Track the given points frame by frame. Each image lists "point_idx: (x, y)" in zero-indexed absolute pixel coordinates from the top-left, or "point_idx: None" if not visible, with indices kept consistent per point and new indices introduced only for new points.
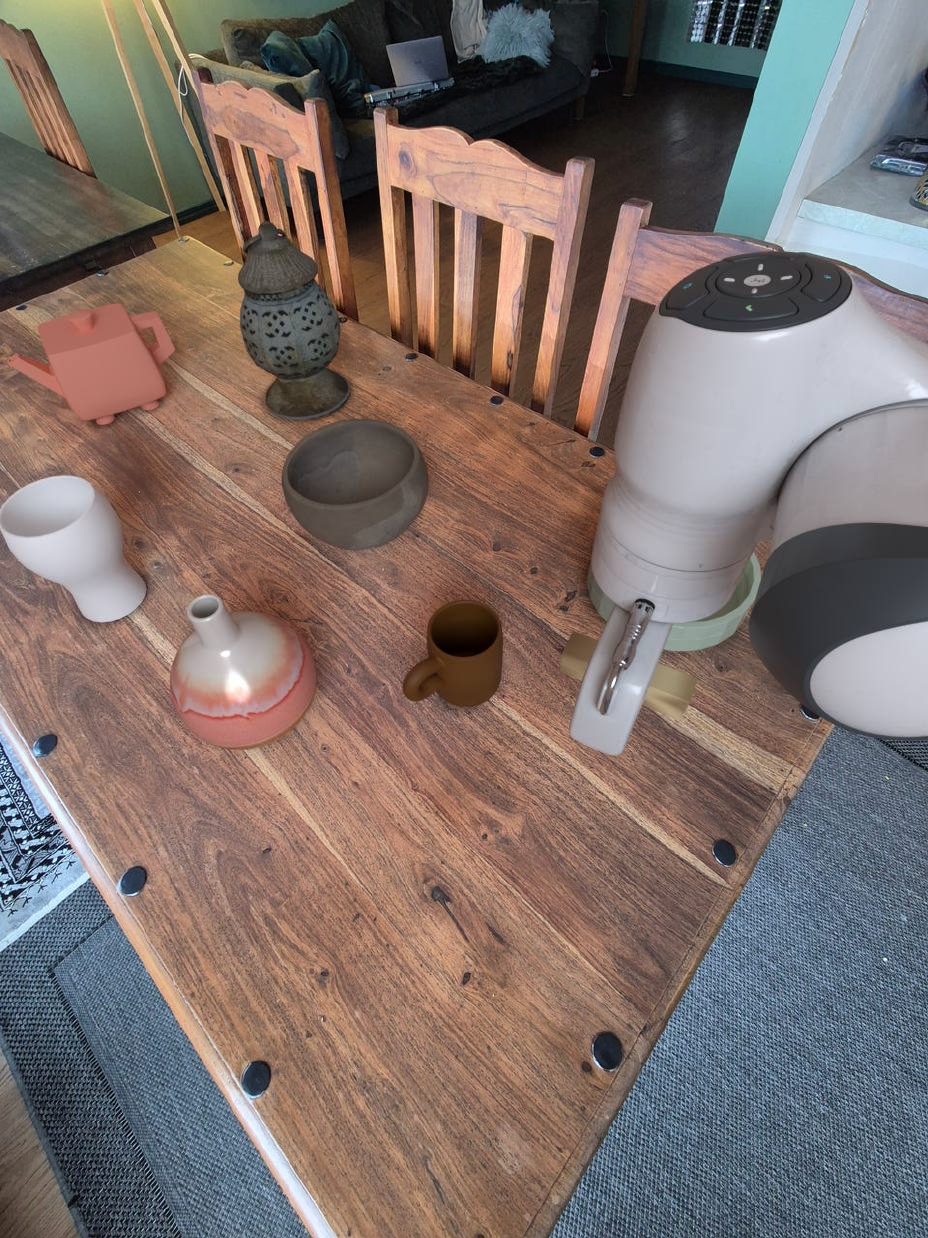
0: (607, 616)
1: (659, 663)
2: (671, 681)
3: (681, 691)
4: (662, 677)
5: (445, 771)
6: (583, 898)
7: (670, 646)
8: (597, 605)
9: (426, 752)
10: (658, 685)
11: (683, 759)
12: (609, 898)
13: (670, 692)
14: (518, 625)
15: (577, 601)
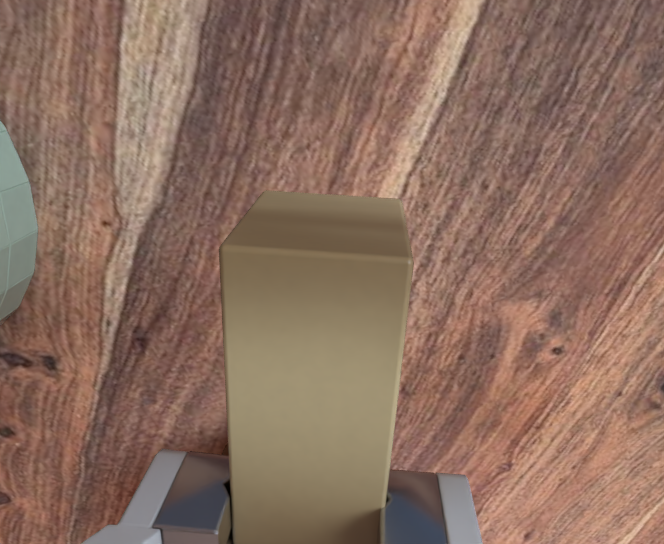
0: (16, 295)
1: (229, 438)
2: (312, 372)
3: (353, 313)
4: (308, 415)
5: (462, 438)
6: (629, 159)
7: (2, 146)
8: (4, 319)
9: (440, 472)
10: (366, 423)
11: (258, 38)
12: (617, 111)
13: (382, 362)
14: (134, 421)
15: (18, 345)
